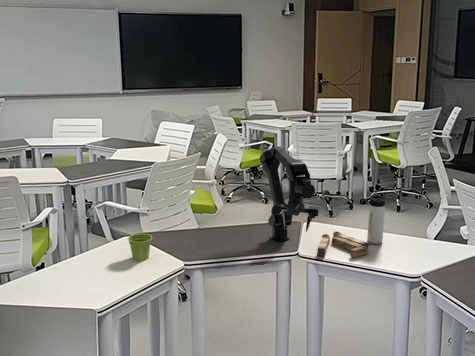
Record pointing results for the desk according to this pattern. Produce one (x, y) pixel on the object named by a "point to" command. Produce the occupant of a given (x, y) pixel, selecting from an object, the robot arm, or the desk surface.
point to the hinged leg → (323, 245)
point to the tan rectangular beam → (350, 244)
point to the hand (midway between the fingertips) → (295, 230)
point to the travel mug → (376, 220)
